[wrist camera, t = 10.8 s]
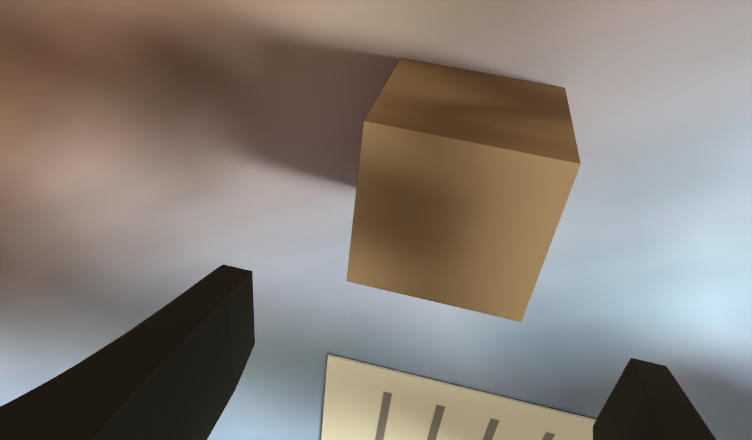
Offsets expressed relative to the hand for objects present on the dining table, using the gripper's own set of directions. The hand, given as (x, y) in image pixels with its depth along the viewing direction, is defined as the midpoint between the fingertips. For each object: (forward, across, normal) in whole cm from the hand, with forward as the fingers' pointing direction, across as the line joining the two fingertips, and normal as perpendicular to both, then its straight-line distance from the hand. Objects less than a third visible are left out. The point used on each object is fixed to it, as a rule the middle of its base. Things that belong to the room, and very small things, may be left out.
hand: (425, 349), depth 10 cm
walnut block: (+9, 0, 0) cm, 9 cm away
